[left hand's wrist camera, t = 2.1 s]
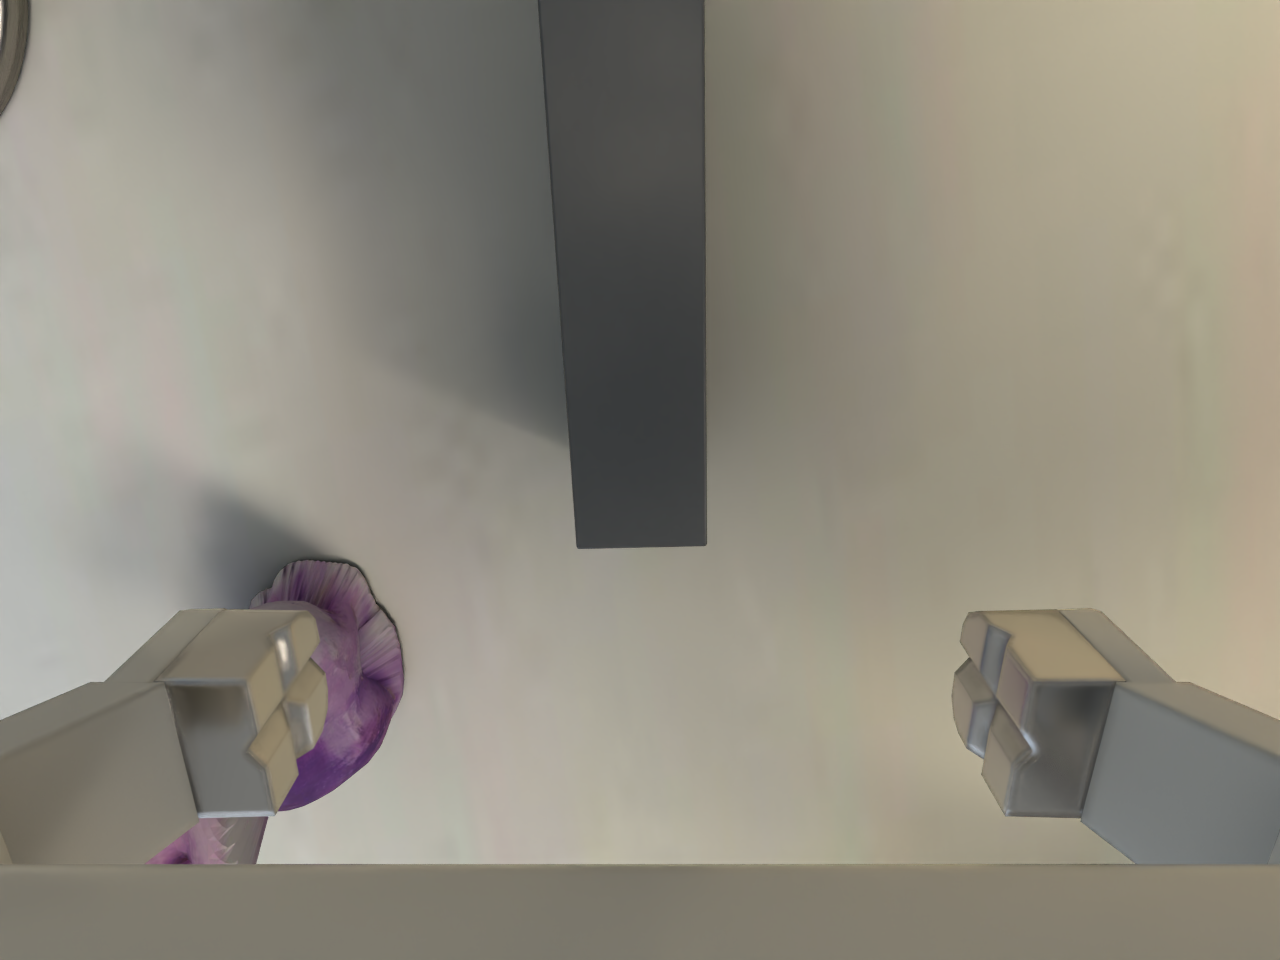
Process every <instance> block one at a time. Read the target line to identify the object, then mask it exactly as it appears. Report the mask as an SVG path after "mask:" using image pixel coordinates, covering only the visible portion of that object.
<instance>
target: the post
mask: <svg viewBox="0 0 1280 960" xmlns="http://www.w3.org/2000/svg"><path fill="white" fill-rule="evenodd" d="M538 11H539V25H540V39H541V53H542V67H543V81H544V95H545V109H546V123H547V137H548V152H549V166H550V180H551V194H552V208H553V222H554V236H555V250H556V264H557V278H558V292H559V306H560V320H561V334H562V348H563V362H564V376H565V390H566V404H567V418H568V432H569V446H570V461H571V475H572V489H573V503H574V517H575V531H576V545H577V548H578V549H596V548H640V547H683V546H706V544H707V435H706V230H705V24H704V0H538Z"/></svg>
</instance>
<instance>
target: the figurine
mask: <svg viewBox="0 0 1280 960" xmlns="http://www.w3.org/2000/svg"><path fill="white" fill-rule="evenodd" d="M249 609H252V610H304V611H309V612H310V613H311V614H312V615H313V617H314V618H315V619H316V624H317V629H318V633H319V638H320V643H319V645H318V646H317V648H316V649H315V651H314V652H313V654H312V655H311V658H312V659H313V660H314V661H315V662H316V663H317V664H318V665H319V666H320V668H321V669H322V670H323V671H324V672H325V673H326V680H327V686H328V710H327V714H326V719H325V723H324V727H323V731H322V733H321V735H320V737H319V739H318V741H317V743H316V745H315V746H314V748H313V749H312V750H310V751H309V752H307V753H305V754H304V755H302V756H301V757H299V758H298V759H296V762H297V768H298V773H299V775H298V777H297V778H296V780H295V782H294V784H293V785H292V787H291V789H290V791H289V792H288V794H287V796H286V798H285V799H284V801H283V803H282V805H281V806H280V808H279V810H278V811H287V810H292V809H295V808H299V807H302V806H305V805H307V804H309V803H311V802H313V801H315V800H317V799H319V798H321V797H323V796H324V795H326V794H328V793H330V792H331V791H333V790H334V789H336V788H337V787H338V786H340V785H341V784H342V783H343V782H345V781H346V780H347V779H349V778H350V777H351V776H352V775H354V774H355V773H356V772H357V771H358V770H360V769H361V768H362V767H363V766H365V765H366V764H367V763H368V762H369V761H370V759H371V758H372V757H373V756H374V754H375V753H376V752H377V750H378V749H379V748H380V746H381V744H382V742H383V739H384V737H385V735H386V732H387V729H388V726H389V724H390V721H391V718H392V716H393V715H394V713H395V711H396V709H397V707H398V704H399V702H400V700H401V697H402V694H403V685H404V675H403V667H402V658H401V648H400V644H399V641H398V637H397V634H396V631H395V626H394V625H393V624H392V623H391V621H390V620H389V619H388V617H387V616H386V614H385V613H384V612H383V611H382V610H381V609H380V607H379V606H378V605H377V604H375V600H374V598H373V596H372V595H371V592H370V589H369V587H368V584H367V582H366V580H365V578H364V577H363V575H362V574H361V572H360V571H359V570H358V569H357V568H356V567H351V566H349V565H348V564H343V563H336V562H335V563H331V562H328V563H326V562H325V561H323V562H320V561H319V560H318V561H316V562H315V561H314V560H311V561H309V560H304V561H299V560H298V561H297V562H291V563H290V564H288V565H287V566H285V567H284V568H283V569H282V570H280V572H279V573H278V575H277V576H276V578H275V580H274V582H273V586H272V588H270V589H265V590H263V591H261V592H259V593H258V594H257V595H256V596H255V597H254V598H253V599H252V600H251V605H250V606H249ZM267 820H268V816H259V817H224V818H199V823H197V824H196V825H195V826H193V827H192V828H191V829H189V830H188V831H187V832H185V833H184V834H183V835H182V836H180V837H179V838H178V839H176V840H175V841H174V842H172V843H171V844H170V845H168V846H167V847H166V848H165V849H163V850H162V851H161V852H159V853H158V854H157V855H155V856H154V857H153V858H151V859H150V860H149V861H148V862H146V863H145V864H256V862H257V858H258V855H259V851H260V847H261V843H262V839H263V835H264V831H265V828H266V824H267Z"/></svg>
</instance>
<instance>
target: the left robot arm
mask: <svg viewBox="0 0 1280 960" xmlns="http://www.w3.org/2000/svg"><path fill="white" fill-rule="evenodd" d="M319 643H320V638H319V633H318V629H317V624H316V619H315V618H314V617H313V615H312V614H311V613H310V612H309V611H304V610H252V609H229V610H227V609H225V608H217V609H188V610H181V611H179V612H178V613H177V614H176V615H175V616H174V617H173V618H171V619H170V620H169V621H168V622H167V623H166V624H165V625H164V626H163V627H162V628H161V629H160V630H159V631H158V632H157V633H156V634H155V635H153V636H152V637H151V638H150V639H149V640H148V641H147V642H146V643H145V644H144V645H143V646H142V647H141V648H140V649H139V650H138V651H136V652H135V653H134V654H133V655H132V656H131V657H130V658H129V659H128V660H127V661H126V662H125V663H124V664H123V665H122V666H121V667H119V668H118V669H117V670H116V671H115V672H114V673H113V674H112V675H111V676H110V677H109V678H108V679H107V680H106V681H105V682H90V683H87V684H85V685H83V686H80V687H78V688H76V689H73V690H71V691H68V692H66V693H64V694H61V695H59V696H57V697H54V698H52V699H49V700H47V701H45V702H42V703H40V704H38V705H35V706H33V707H31V708H28V709H26V710H23V711H21V712H19V713H16V714H14V715H12V716H9V717H7V718H4V719H2V720H0V960H1280V720H1278V719H1275V718H1273V717H1271V716H1268V715H1266V714H1263V713H1261V712H1259V711H1256V710H1254V709H1252V708H1249V707H1247V706H1245V705H1242V704H1240V703H1238V702H1235V701H1233V700H1230V699H1228V698H1226V697H1223V696H1221V695H1219V694H1216V693H1214V692H1212V691H1209V690H1207V689H1204V688H1202V687H1200V686H1197V685H1195V684H1193V683H1190V682H1175V681H1174V680H1173V679H1172V678H1171V677H1170V676H1169V675H1168V674H1167V673H1166V672H1165V671H1164V670H1163V669H1162V668H1161V667H1160V666H1159V665H1157V664H1156V663H1155V662H1154V661H1153V660H1152V659H1151V658H1150V657H1149V656H1148V655H1147V654H1146V653H1145V652H1144V651H1143V650H1142V649H1141V648H1139V647H1138V646H1137V645H1136V644H1135V643H1134V642H1133V641H1132V640H1131V639H1130V638H1129V637H1128V636H1127V635H1126V634H1125V633H1124V632H1123V631H1121V630H1120V629H1119V628H1118V627H1117V626H1116V625H1115V624H1114V623H1113V622H1112V621H1111V620H1110V619H1109V618H1108V617H1107V616H1106V615H1105V614H1103V613H1102V612H1101V611H1098V610H1095V609H1092V608H1081V609H1047V610H1006V611H976V612H968V615H967V617H966V619H965V621H964V623H963V627H962V632H961V638H960V643H961V645H962V646H963V648H964V649H965V651H966V652H967V654H968V655H969V658H968V659H967V660H966V661H965V662H964V663H963V664H962V665H961V666H960V667H959V669H958V670H957V671H956V672H955V673H954V681H953V689H952V706H953V716H954V721H955V724H956V727H957V730H958V733H959V735H960V737H961V739H962V741H963V743H964V745H965V746H966V748H967V749H968V750H970V751H971V752H973V753H975V754H976V755H978V756H979V757H981V758H982V759H984V762H983V768H982V773H981V775H982V777H983V778H984V780H985V782H986V784H987V785H988V787H989V789H990V791H991V792H992V794H993V796H994V797H995V799H996V801H997V803H998V804H999V806H1000V808H1001V810H1002V811H1003V813H1004V815H1005V816H1019V817H1055V818H1081V821H1080V822H1082V823H1083V824H1084V825H1086V826H1087V827H1088V828H1090V829H1091V830H1092V831H1094V832H1095V833H1096V834H1097V835H1099V836H1100V837H1101V838H1103V839H1104V840H1105V841H1107V842H1108V843H1109V844H1111V845H1112V846H1113V847H1114V848H1116V849H1117V850H1118V851H1120V852H1121V853H1122V854H1124V855H1125V856H1126V857H1128V858H1129V859H1130V860H1131V861H1133V862H1134V863H1135V864H145V863H146V862H148V861H149V860H150V859H151V858H153V857H154V856H155V855H157V854H158V853H159V852H161V851H162V850H163V849H165V848H166V847H167V846H168V845H170V844H171V843H172V842H174V841H175V840H176V839H178V838H179V837H180V836H182V835H183V834H184V833H185V832H187V831H188V830H189V829H191V828H192V827H193V826H195V825H196V824H197V823H199V818H224V817H259V816H275V815H276V813H277V811H278V810H279V808H280V806H281V805H282V803H283V801H284V799H285V798H286V796H287V794H288V792H289V791H290V789H291V787H292V785H293V784H294V782H295V780H296V778H297V777H298V775H299V773H298V768H297V762H296V759H298V758H299V757H301V756H302V755H304V754H305V753H307V752H309V751H310V750H312V749H313V748H314V746H315V745H316V743H317V741H318V739H319V737H320V735H321V733H322V731H323V727H324V723H325V719H326V714H327V710H328V686H327V680H326V673H325V672H324V671H323V670H322V669H321V668H320V666H319V665H318V664H317V663H316V662H315V661H314V660H313V659H312V658H311V655H312V654H313V652H314V651H315V649H316V648H317V646H318V645H319Z"/></svg>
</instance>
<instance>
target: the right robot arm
mask: <svg viewBox="0 0 1280 960" xmlns="http://www.w3.org/2000/svg"><path fill="white" fill-rule="evenodd" d="M27 26H28V0H0V115H1V114H2V112H3V110H4V108H5V106H6V105H7V103H8V101H9V99H10V97H11V95H12V92H13V90H14V87H15V85H16V82H17V80H18V76H19V73H20V69H21V66H22V62H23V58H24V52H25V46H26V40H27Z"/></svg>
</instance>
